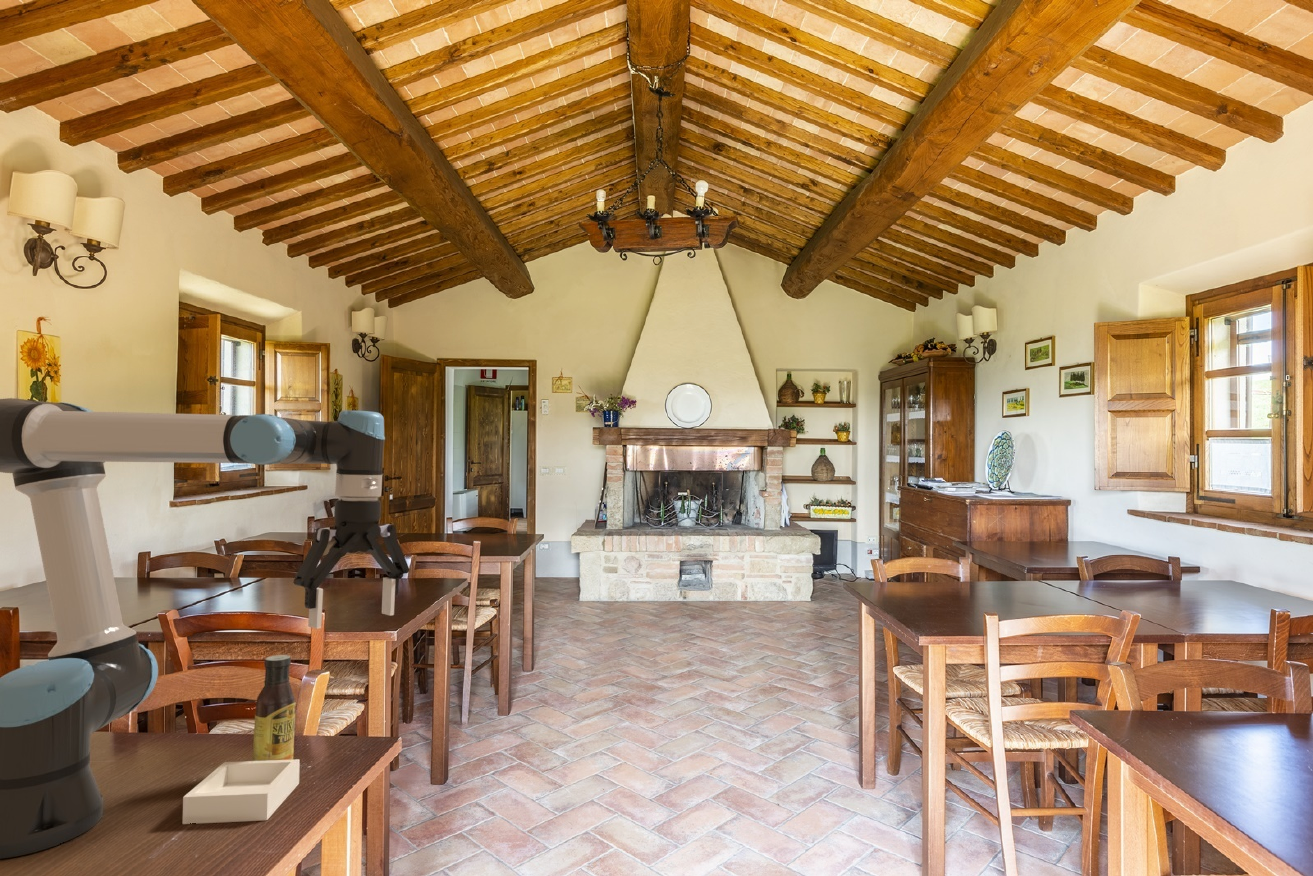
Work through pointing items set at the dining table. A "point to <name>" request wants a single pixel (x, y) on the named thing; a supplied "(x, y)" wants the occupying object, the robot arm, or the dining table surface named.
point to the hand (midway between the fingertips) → (352, 620)
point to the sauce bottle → (275, 713)
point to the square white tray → (241, 791)
